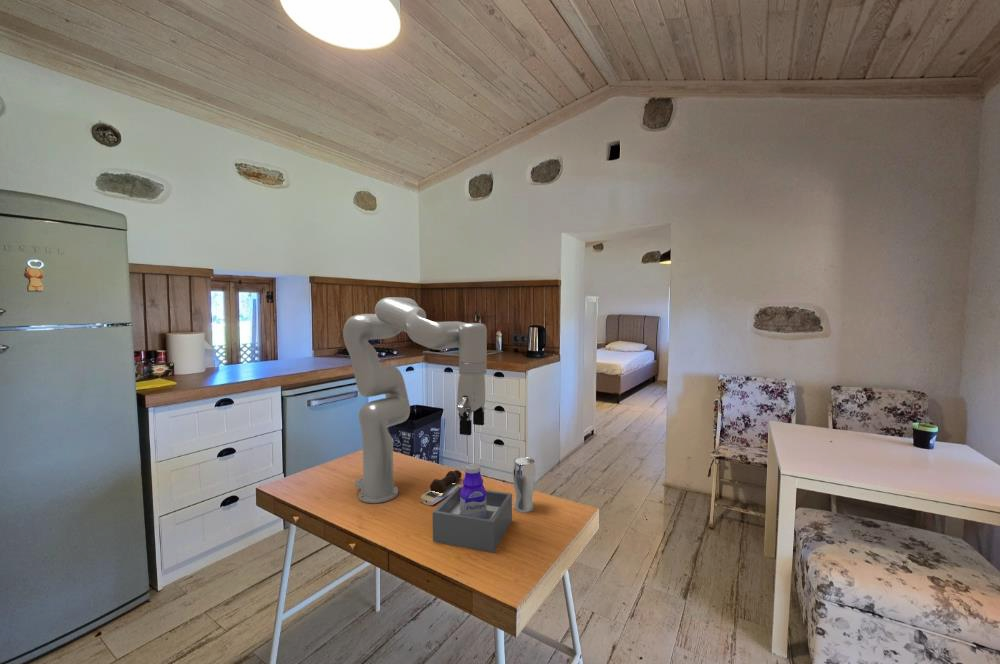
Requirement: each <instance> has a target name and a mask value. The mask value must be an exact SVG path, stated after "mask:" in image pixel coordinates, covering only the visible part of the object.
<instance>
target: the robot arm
mask: <svg viewBox="0 0 1000 664" xmlns="http://www.w3.org/2000/svg"><path fill="white" fill-rule="evenodd" d="M487 329H488V328H487V326H486V324H484V323H481V322H480V323H478V322H464V321H463V322H462V321H432V320H430V319H427V314H426V311H425V310H424V309H423V308H422V307H419V305H418V303H417V302H416V301H415V299H412V298H409V297H394V296H393V297H384V298H381V299H380V300H378V302H377V303H376V305H375V307H374V313H361V314H356V315H352V316H350V317H349V318H348V319H347V320H346V322H345V324H344V326H343V329H342V330H343V332H342V336H343V342H344V345H345V347H346V350H347V352H348V354H349V356H350V360H351V366H352V369H353V374H354V378H355V383H356V386H357V390H358V393H359V395H361V396H363V397H365V398H371V397H377V396H381V395H385V397H384V398H379V399H375V400H372V401H368V402H366V403H365V404H363V406H361V407H360V409H359V413H358V418H359V419H358V420H359V425H360V429H361V435H362V467H363V469H362V473H363V474H362V475H363V477H362V478H356V480H355V483H354V485H353V486H354V488H359V489H360V491H359V492H358V499H359V500H360V501H361V502H363V503H367V504H379V503H380V504H381V503H384V502H385V503H386V502H388V501H390V500H394V498H396V497H397V496H398V494H399V487H398V486H396V485H395V484H394V442H393V437H392V435H391V433H389V430H388V428H389V427H392V426H396V425H399V424H402V423H404V422H406V421H407V420H408V419H409V417H410V413H411V405H410V401H409V396H408V393H407V387H406V384H405V380H404V379H405V378H404V376H403V374H402V372H401V370H400V369H399V368H398V367H396V366H394V365H390V364H388V365H381V364H380V363H381V362H380V360H379V355H378V352H377V351H376V349H375V347H374V346H373V345H372V344H370V342H369V340H383V339H384V340H385V339H390V338H394V337H395V336H397V335H399V334H400V333H401V332H404V333H407V335H408V337H409V338H410V340H412V341H413V342H414V343H416V344H418V345H421V346H422V347H425V348H427V349H431V350H437V351H438V350H446V349H456V348H458V374H459V378H458V382H457V384H458V385H457V394H456V395H457V398H456V409H457V411H458V421H459V434H460V435H461V436H471V435H472V426H473V425H475V426H484V425H485V410H486V409H485V403H486V381H485V379H486V377H485V375H486V374H487V361H488V360H487V357H488V356H487V355H488V352H487V351H488V350H487V346H488V345H487V344H488V342H487V341H488V339H487V338H488V337H487V335H488V334H487V333H488V331H487ZM471 418H472V420H471ZM472 424H473V425H472Z"/></svg>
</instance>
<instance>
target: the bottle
mask: <svg viewBox="0 0 1000 664" xmlns="http://www.w3.org/2000/svg"><path fill="white" fill-rule="evenodd" d="M464 472H465V475H464V478H463V479H462V486H461V487H462V489H461V492H460V515H465V516H471V517H477V518H483V519H487V506H486V488H485V486H484V479H483V478H482V475H481V465H480V464H477V463H469V464H467V465H465V471H464Z"/></svg>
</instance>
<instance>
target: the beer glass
mask: <svg viewBox="0 0 1000 664" xmlns="http://www.w3.org/2000/svg"><path fill="white" fill-rule="evenodd" d="M536 474H537V473H536V460H535V459H534V458H532V457H529V456H527V457H526V456H520V457H516V458H514V459H513V470H512V478H513V479H512V481H513V486H514V494H515V500H514V507H513V509H514V510H515V511H516V512H518V513H524V514H527V513H528V514H529V513H530V512H533V511H534V509H535V507H534V501H533V499H534V498H533V496H534V489H535V484H536V476H537V475H536Z"/></svg>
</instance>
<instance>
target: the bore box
mask: <svg viewBox="0 0 1000 664" xmlns="http://www.w3.org/2000/svg"><path fill="white" fill-rule="evenodd" d="M462 487H463V486H459V485H458V486H457V487H456V488H455V489H453V491H451V493H449V495H447V497H446V498H445V499H443V501H442V502H441V503H440V504H439V505H437V507H436V508H435V509H434V510H433V511H432V542H433V543H439V544H444V545H450V546H456V547H459V548H466V549H471V550H476V551H481V552H488V553H492V554H494V553H495V551H496V549H497V548H498V547H499V544H500V543H501V541H502V538H503V537H504V535H505V533H506V532H507V530H508V528H509V527H510V524H511V523H512V521H513V494H512V493H508V492H501V491H494V490H486V489H485V490H486V506H487V519H483V518H477V517H471V516H465V515H460V492H461V489H462Z"/></svg>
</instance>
